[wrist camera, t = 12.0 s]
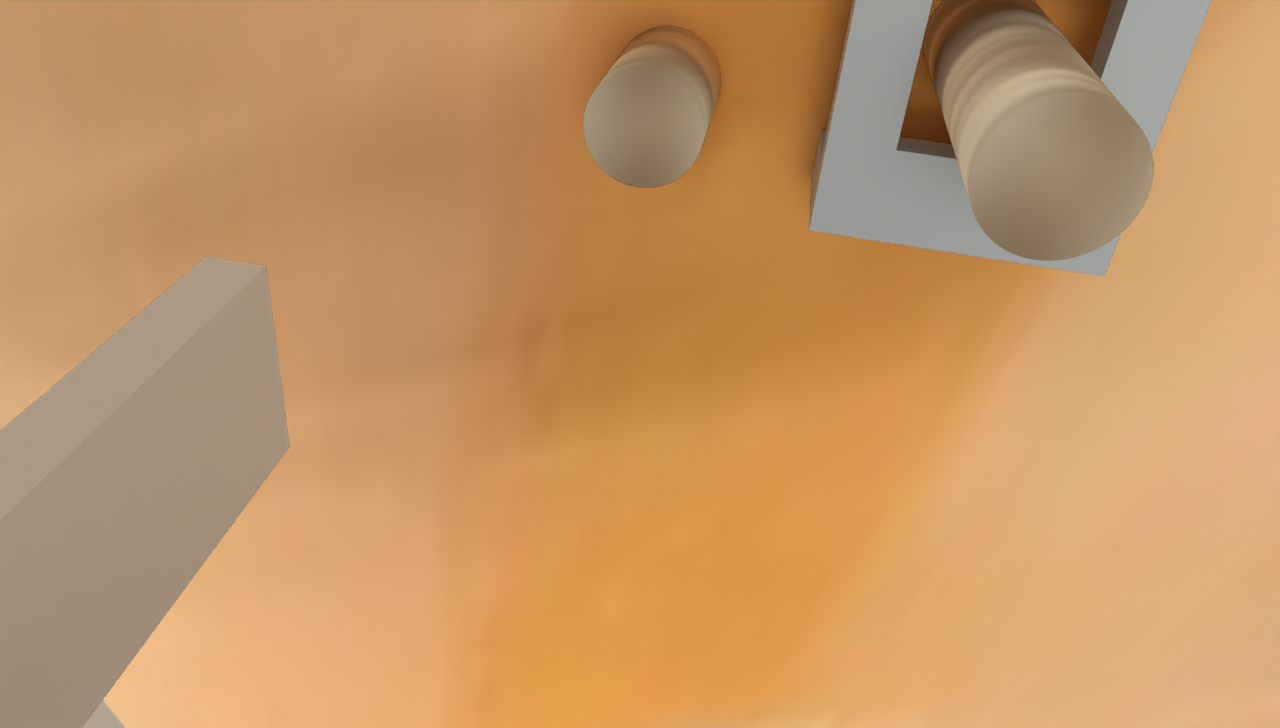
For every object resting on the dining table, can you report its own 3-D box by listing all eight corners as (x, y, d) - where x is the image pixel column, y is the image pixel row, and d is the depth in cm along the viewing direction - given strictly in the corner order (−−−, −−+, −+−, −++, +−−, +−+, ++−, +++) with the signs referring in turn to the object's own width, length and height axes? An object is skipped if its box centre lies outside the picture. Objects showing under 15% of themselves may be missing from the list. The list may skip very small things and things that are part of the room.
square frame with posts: (811, 179, 38) (808, 230, 34) (880, -169, 32) (888, -159, 28) (1073, 218, 37) (1104, 276, 33) (1198, -132, 31) (1256, -115, 27)
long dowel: (912, 88, 36) (950, 246, 24) (940, -28, 34) (997, 85, 22) (1023, 103, 36) (1117, 272, 24) (1058, -12, 34) (1181, 111, 22)
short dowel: (612, 124, 39) (579, 178, 34) (621, 19, 36) (587, 59, 31) (713, 139, 38) (695, 196, 33) (728, 34, 36) (711, 77, 31)
